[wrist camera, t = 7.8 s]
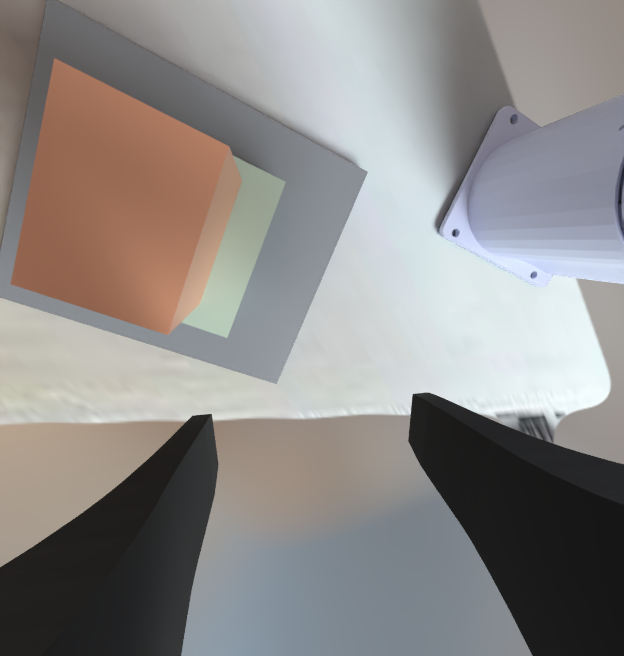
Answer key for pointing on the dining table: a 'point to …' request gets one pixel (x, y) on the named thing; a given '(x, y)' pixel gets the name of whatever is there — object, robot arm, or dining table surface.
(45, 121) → the top brick
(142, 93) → the tower base
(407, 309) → the dining table surface
